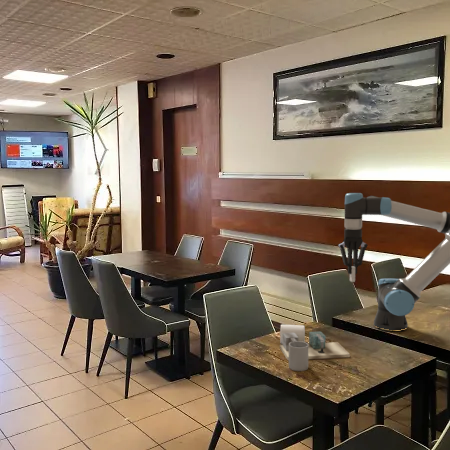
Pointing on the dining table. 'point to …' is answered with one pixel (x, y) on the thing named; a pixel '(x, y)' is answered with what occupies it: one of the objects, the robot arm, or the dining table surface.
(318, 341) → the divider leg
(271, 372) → the dining table surface
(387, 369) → the dining table surface
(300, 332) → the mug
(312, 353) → the board
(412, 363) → the dining table surface
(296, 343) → the cup
